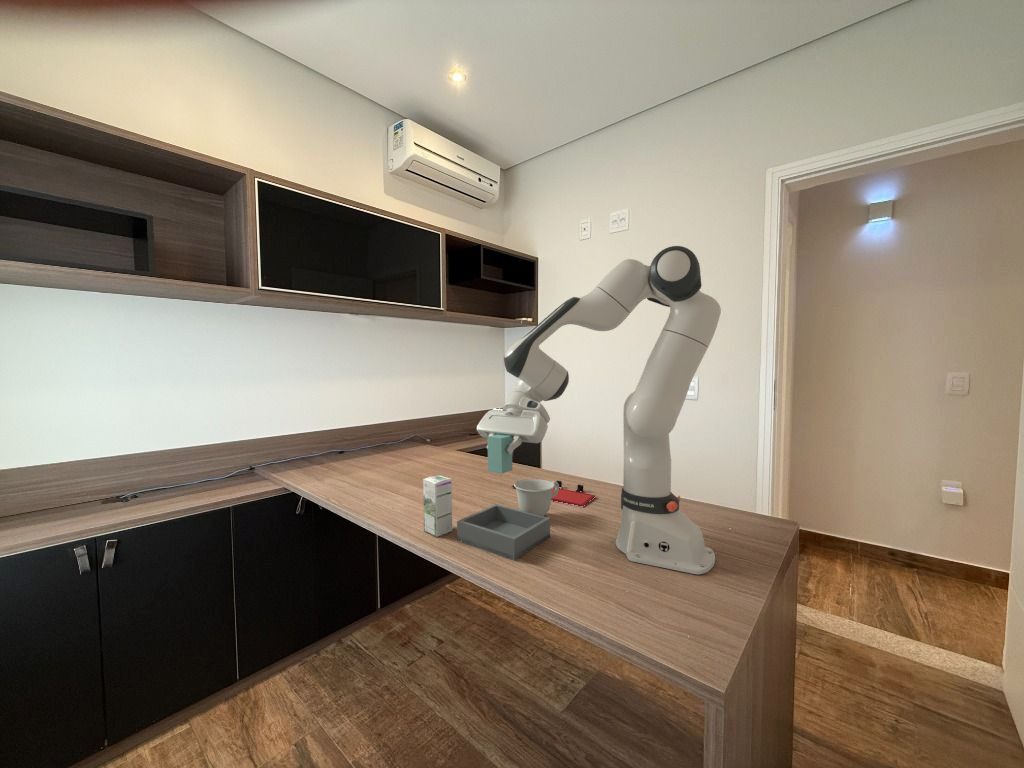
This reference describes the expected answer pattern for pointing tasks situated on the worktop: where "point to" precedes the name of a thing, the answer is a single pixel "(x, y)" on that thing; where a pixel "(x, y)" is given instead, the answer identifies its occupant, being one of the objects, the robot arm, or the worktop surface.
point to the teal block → (499, 454)
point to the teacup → (535, 495)
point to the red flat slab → (572, 495)
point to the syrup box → (437, 505)
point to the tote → (504, 530)
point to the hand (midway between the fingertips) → (498, 451)
